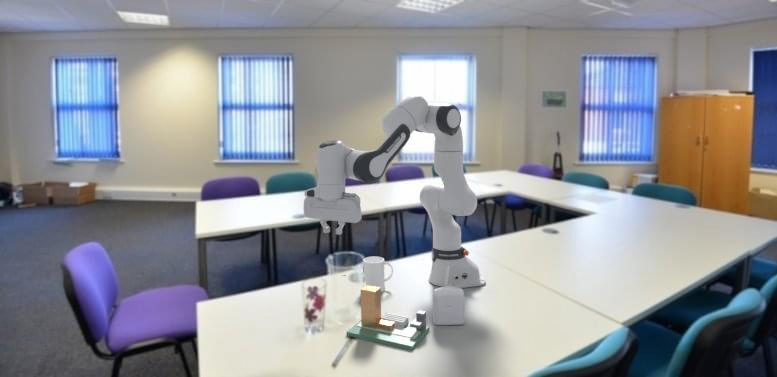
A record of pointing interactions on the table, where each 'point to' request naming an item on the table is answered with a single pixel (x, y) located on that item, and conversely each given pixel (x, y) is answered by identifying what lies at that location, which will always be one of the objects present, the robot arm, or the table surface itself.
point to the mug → (375, 271)
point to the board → (394, 331)
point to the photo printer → (448, 306)
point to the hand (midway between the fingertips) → (332, 233)
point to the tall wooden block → (373, 309)
